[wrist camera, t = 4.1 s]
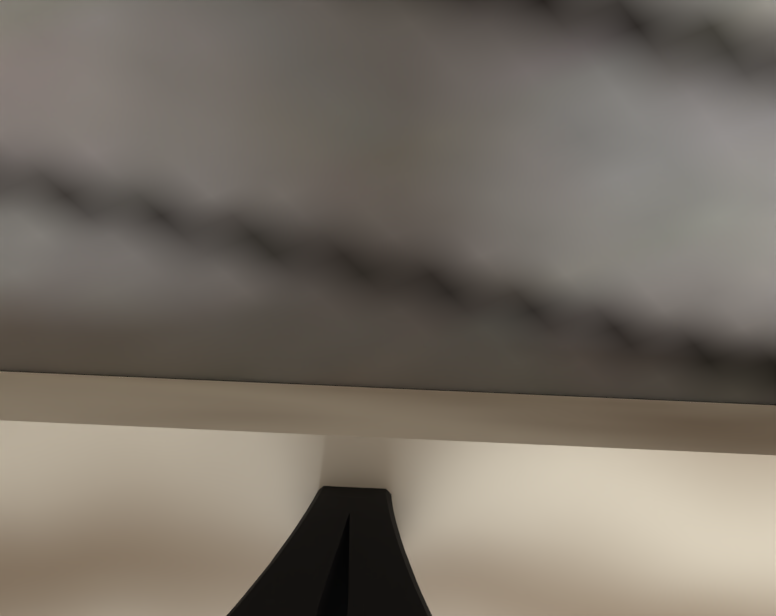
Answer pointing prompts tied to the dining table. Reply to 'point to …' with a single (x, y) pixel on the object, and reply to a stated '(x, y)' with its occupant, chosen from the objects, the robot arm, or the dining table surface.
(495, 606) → the maple plank
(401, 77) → the dining table surface
